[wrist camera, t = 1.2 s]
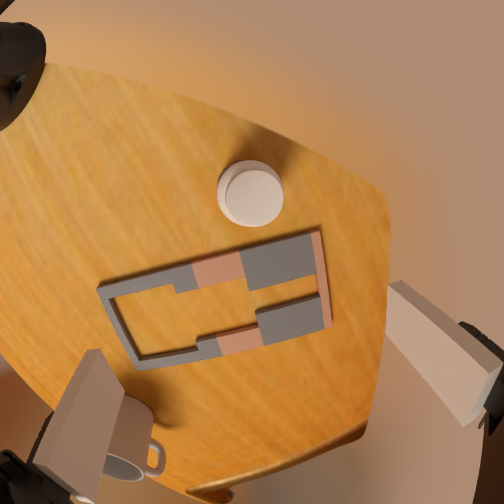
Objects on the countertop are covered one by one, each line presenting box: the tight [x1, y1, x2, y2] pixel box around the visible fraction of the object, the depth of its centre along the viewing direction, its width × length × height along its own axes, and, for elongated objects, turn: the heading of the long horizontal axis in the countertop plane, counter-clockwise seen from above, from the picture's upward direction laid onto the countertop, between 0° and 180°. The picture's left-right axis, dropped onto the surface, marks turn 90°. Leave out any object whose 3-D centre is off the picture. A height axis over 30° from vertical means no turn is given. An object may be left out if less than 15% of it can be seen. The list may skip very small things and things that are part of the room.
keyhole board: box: [96, 230, 332, 371], centre depth 31 cm, size 12×25×1 cm, turn 103°
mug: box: [102, 395, 166, 481], centre depth 30 cm, size 12×8×11 cm
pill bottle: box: [216, 160, 284, 227], centre depth 23 cm, size 5×5×9 cm
